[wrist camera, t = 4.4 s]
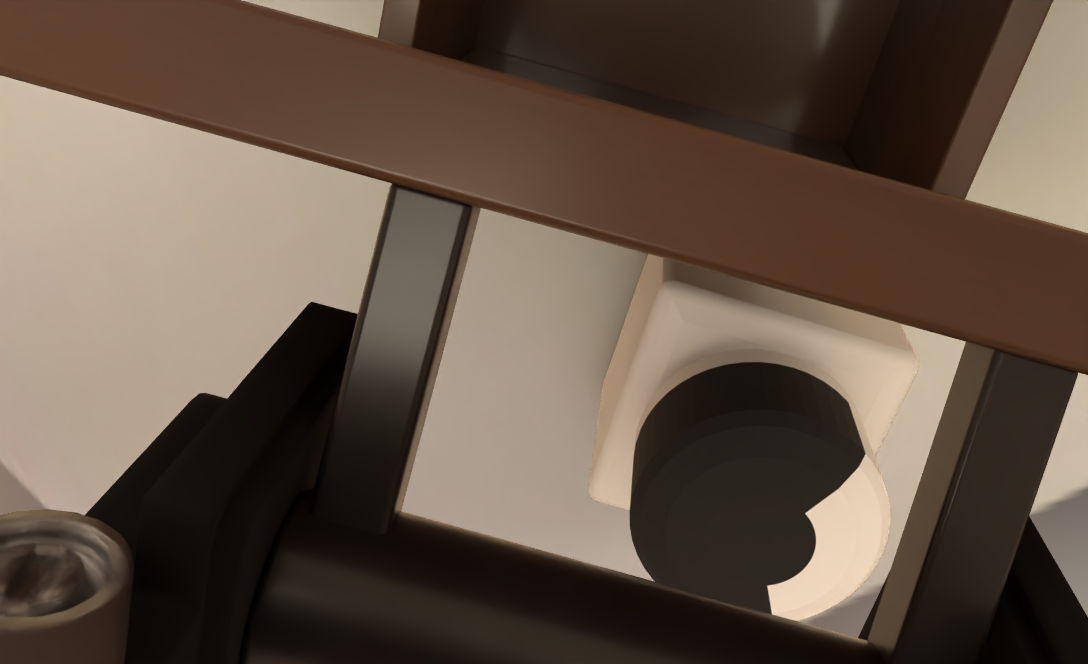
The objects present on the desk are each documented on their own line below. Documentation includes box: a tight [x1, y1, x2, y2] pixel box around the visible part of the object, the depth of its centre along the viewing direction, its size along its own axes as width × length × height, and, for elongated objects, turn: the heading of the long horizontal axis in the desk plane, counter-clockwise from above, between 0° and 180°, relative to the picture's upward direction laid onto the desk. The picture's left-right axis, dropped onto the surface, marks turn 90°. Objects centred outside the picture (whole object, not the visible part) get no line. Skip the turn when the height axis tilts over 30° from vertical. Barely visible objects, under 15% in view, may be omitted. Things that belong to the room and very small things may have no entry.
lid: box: [0, 0, 1088, 664], centre depth 14 cm, size 16×13×5 cm
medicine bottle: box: [588, 254, 919, 621], centre depth 29 cm, size 7×7×12 cm
